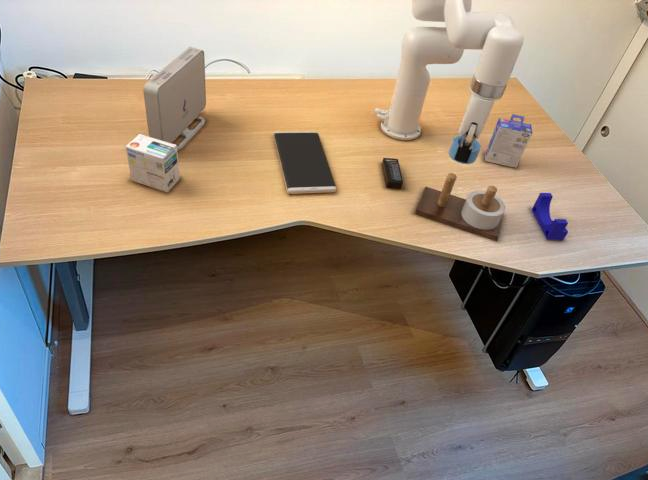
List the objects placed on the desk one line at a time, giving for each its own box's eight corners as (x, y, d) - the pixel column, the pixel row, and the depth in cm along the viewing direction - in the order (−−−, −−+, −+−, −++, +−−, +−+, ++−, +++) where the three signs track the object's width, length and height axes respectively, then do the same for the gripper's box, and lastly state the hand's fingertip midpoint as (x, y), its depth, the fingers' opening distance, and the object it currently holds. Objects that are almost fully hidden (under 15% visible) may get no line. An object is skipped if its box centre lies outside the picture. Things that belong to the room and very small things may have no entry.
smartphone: (317, 135, 164) (317, 130, 163) (336, 193, 146) (337, 188, 145) (273, 136, 161) (273, 131, 160) (287, 195, 144) (288, 190, 142)
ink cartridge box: (516, 158, 168) (535, 116, 157) (517, 168, 164) (536, 127, 154) (484, 151, 169) (501, 109, 158) (484, 161, 165) (502, 119, 154)
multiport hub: (386, 188, 150) (387, 181, 149) (381, 164, 158) (382, 157, 156) (401, 189, 151) (403, 182, 149) (396, 165, 158) (398, 158, 157)
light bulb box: (180, 178, 143) (178, 144, 135) (167, 193, 139) (164, 158, 131) (144, 167, 145) (139, 132, 137) (130, 181, 140) (124, 145, 132)
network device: (171, 159, 148) (164, 92, 133) (142, 150, 149) (132, 82, 135) (213, 114, 165) (211, 50, 150) (187, 106, 166) (182, 42, 152)
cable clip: (563, 240, 144) (573, 223, 140) (547, 239, 144) (557, 222, 139) (546, 210, 152) (555, 193, 148) (531, 209, 152) (540, 192, 147)
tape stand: (414, 213, 145) (425, 180, 136) (424, 190, 152) (435, 157, 144) (496, 241, 141) (512, 208, 133) (502, 215, 148) (517, 183, 140)
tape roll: (446, 158, 134) (450, 146, 131) (451, 144, 138) (455, 132, 136) (473, 167, 133) (478, 154, 130) (477, 152, 137) (482, 140, 135)
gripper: (477, 65, 128) (454, 131, 141) (465, 98, 117) (441, 167, 130) (508, 74, 127) (483, 139, 140) (499, 108, 115) (472, 176, 128)
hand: (463, 152), depth 135 cm, fingers closed on tape roll, 6 cm apart
